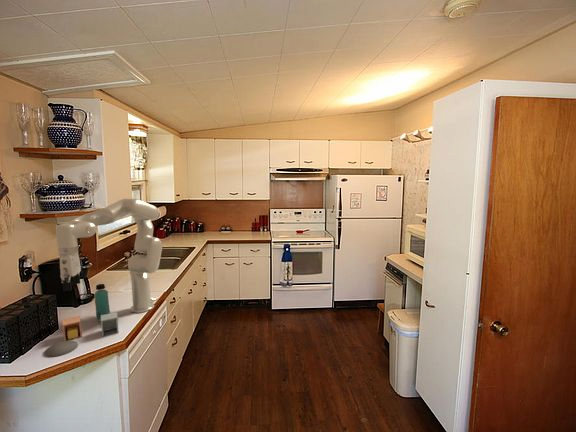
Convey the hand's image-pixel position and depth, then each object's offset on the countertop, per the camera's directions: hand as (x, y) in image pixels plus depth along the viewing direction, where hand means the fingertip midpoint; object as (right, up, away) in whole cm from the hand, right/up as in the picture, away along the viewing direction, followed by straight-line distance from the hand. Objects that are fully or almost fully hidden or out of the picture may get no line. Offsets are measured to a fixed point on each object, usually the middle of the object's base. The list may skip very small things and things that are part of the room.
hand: (72, 287), depth 146 cm
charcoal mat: (-1, -27, -5) cm, 27 cm away
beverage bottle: (+1, -23, +23) cm, 33 cm away
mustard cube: (-4, -25, +7) cm, 27 cm away
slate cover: (+12, -25, +11) cm, 29 cm away
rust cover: (-4, -25, +7) cm, 27 cm away
